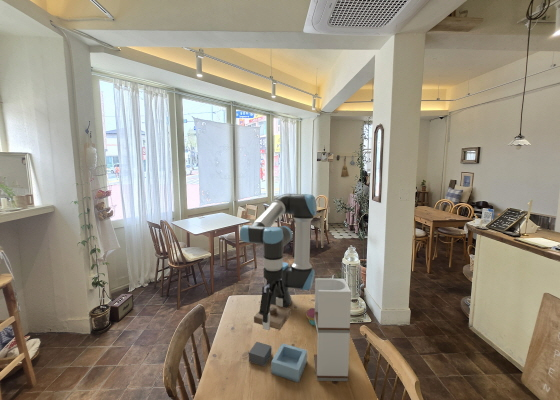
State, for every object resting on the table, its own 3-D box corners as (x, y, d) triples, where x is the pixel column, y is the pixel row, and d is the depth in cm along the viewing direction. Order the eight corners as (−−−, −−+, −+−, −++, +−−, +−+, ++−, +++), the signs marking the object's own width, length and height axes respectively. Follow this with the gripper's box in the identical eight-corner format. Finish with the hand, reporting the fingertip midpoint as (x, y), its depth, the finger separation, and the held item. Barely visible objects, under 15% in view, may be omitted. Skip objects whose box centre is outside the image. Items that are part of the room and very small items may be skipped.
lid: (267, 308, 105) (267, 299, 105) (291, 314, 101) (291, 305, 100) (254, 322, 95) (253, 313, 95) (279, 330, 91) (279, 320, 90)
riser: (256, 350, 107) (256, 341, 107) (271, 354, 104) (271, 345, 104) (248, 361, 101) (248, 352, 100) (264, 366, 98) (264, 357, 98)
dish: (281, 353, 105) (281, 343, 104) (306, 361, 101) (307, 350, 100) (271, 373, 95) (271, 361, 94) (298, 382, 91) (298, 370, 90)
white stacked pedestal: (341, 359, 102) (344, 278, 98) (347, 381, 91) (351, 291, 87) (313, 358, 102) (315, 278, 98) (317, 380, 92) (318, 291, 88)
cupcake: (309, 316, 132) (309, 295, 131) (324, 320, 128) (325, 298, 127) (303, 325, 124) (304, 302, 123) (320, 330, 121) (320, 307, 119)
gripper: (277, 256, 108) (277, 304, 110) (249, 277, 86) (249, 335, 89) (293, 259, 105) (292, 308, 107) (268, 281, 83) (268, 341, 86)
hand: (273, 320), depth 98 cm, fingers closed on lid, 11 cm apart
